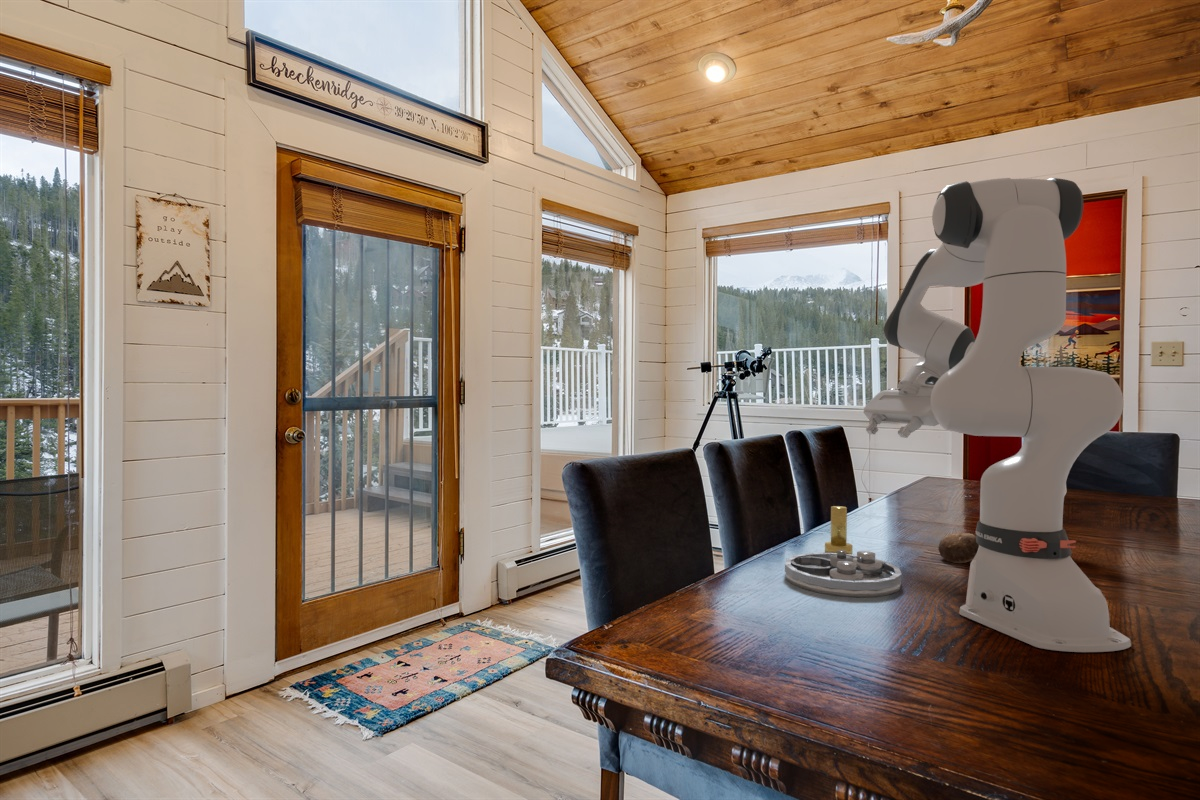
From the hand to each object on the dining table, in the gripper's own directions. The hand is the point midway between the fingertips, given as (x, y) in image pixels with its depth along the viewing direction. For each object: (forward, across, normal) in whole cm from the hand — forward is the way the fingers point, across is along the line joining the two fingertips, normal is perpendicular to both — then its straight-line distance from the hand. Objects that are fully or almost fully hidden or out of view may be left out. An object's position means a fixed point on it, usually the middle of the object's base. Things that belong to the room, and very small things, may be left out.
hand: (885, 434), depth 150 cm
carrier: (+36, +17, -1) cm, 40 cm away
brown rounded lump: (+14, +14, +22) cm, 30 cm away
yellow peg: (+27, 0, +9) cm, 28 cm away
